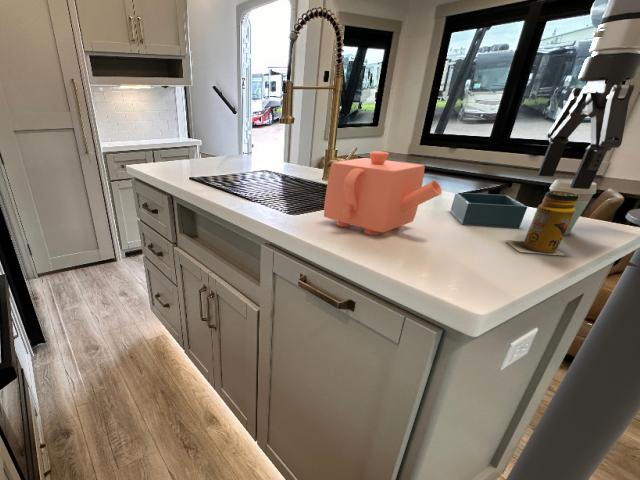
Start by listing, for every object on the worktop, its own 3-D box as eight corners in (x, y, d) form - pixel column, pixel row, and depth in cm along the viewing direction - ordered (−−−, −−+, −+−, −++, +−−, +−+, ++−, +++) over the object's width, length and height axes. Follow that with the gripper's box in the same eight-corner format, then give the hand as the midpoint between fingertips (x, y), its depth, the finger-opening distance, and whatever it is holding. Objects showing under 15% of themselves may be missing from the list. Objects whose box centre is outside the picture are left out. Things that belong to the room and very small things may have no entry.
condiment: (565, 256, 75) (592, 197, 69) (520, 252, 76) (543, 195, 70) (546, 244, 81) (570, 190, 75) (505, 241, 83) (525, 188, 77)
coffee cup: (524, 227, 92) (543, 178, 86) (552, 225, 93) (572, 177, 88) (555, 238, 85) (578, 186, 79) (585, 236, 86) (610, 184, 80)
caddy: (500, 215, 102) (507, 195, 100) (519, 228, 91) (527, 206, 88) (449, 211, 105) (455, 192, 103) (461, 224, 94) (468, 203, 91)
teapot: (449, 231, 89) (471, 154, 80) (402, 252, 76) (423, 164, 68) (361, 211, 106) (372, 145, 97) (311, 225, 93) (319, 151, 84)
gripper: (554, 61, 73) (515, 170, 83) (638, 44, 52) (571, 193, 62) (598, 61, 71) (552, 172, 82) (703, 42, 50) (623, 196, 60)
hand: (560, 181), depth 72 cm, fingers open, 13 cm apart
